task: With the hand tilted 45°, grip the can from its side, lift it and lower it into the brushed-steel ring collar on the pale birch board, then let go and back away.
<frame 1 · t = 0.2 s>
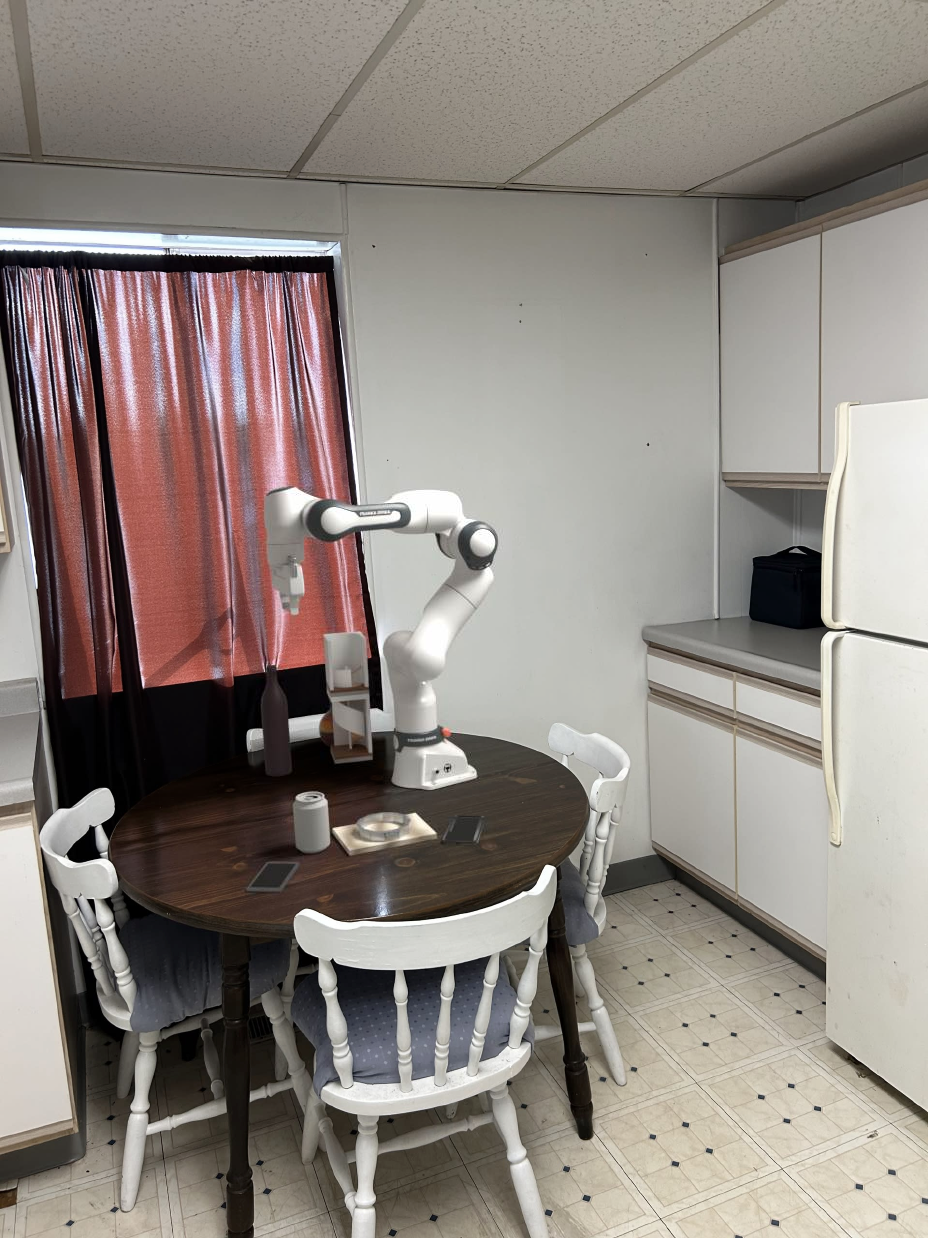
hand: (290, 611, 230), 48 cm above the table, tool pointing down, fingers open, 8 cm apart
cell phone: (273, 880, 194), on the table
phone: (464, 833, 214), on the table
vase: (338, 744, 285), on the table
seat board: (384, 835, 213), on the table
wine bottle: (279, 773, 260), on the table
display case: (351, 756, 272), on the table
can: (313, 848, 208), on the table
ring collar: (383, 826, 213), on the seat board, point 2 cm above the table
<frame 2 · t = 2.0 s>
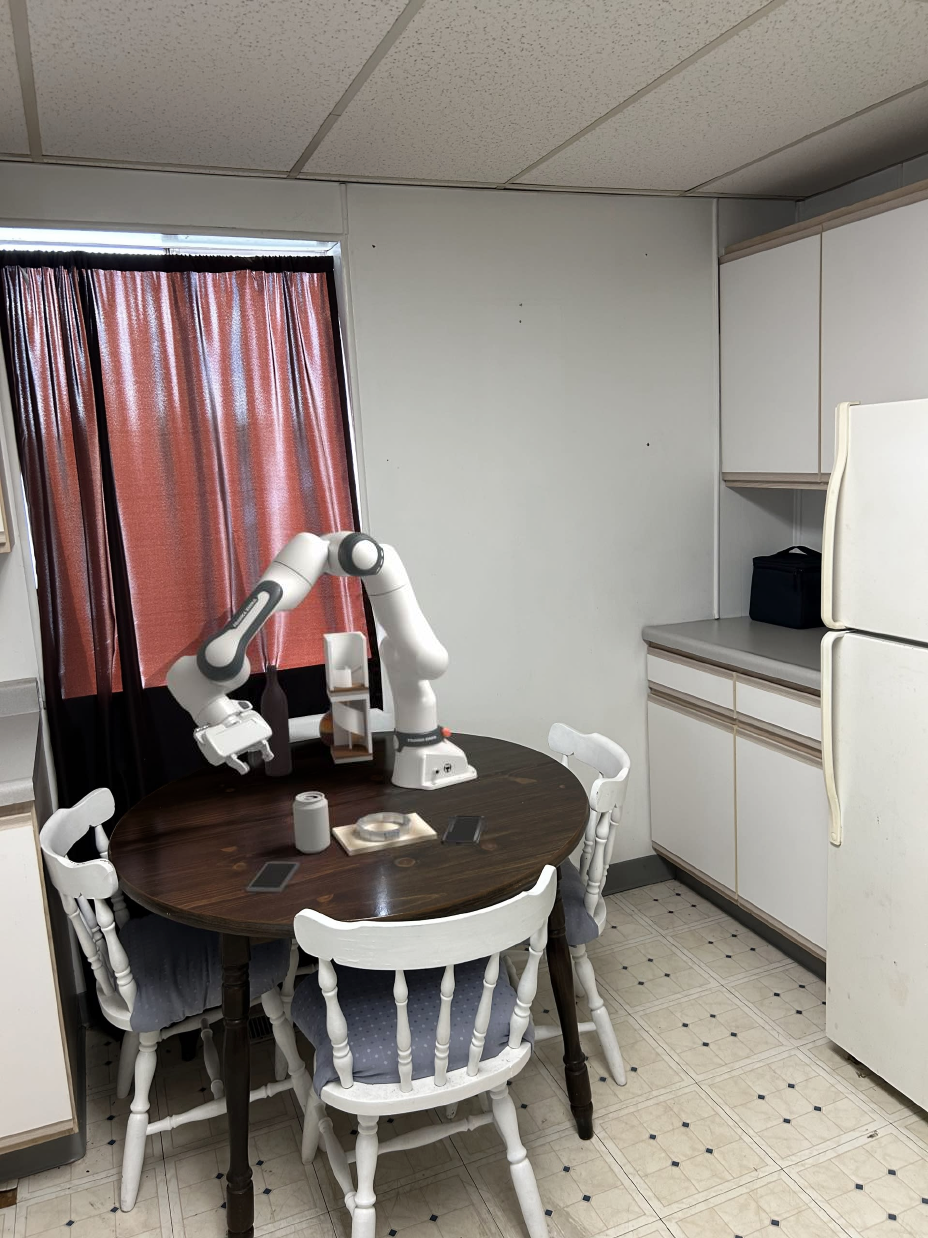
hand: (258, 765, 210), 18 cm above the table, tool tilted 45°, fingers open, 8 cm apart
nothing on the table moved.
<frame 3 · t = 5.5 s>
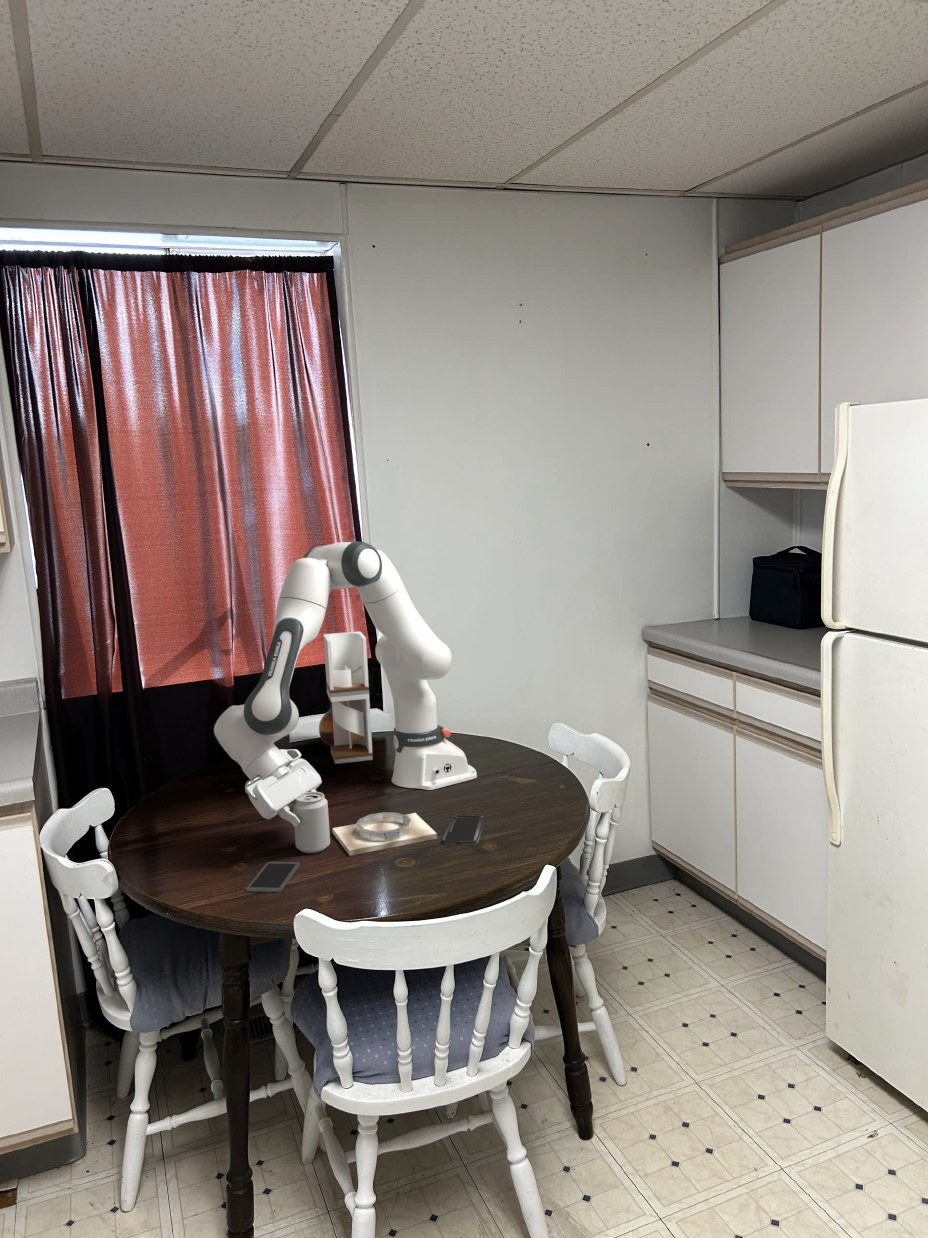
hand: (310, 816, 207), 7 cm above the table, tool tilted 45°, fingers closed on can, 7 cm apart
can: (313, 848, 208), on the table, touching gripper
everything else where it was.
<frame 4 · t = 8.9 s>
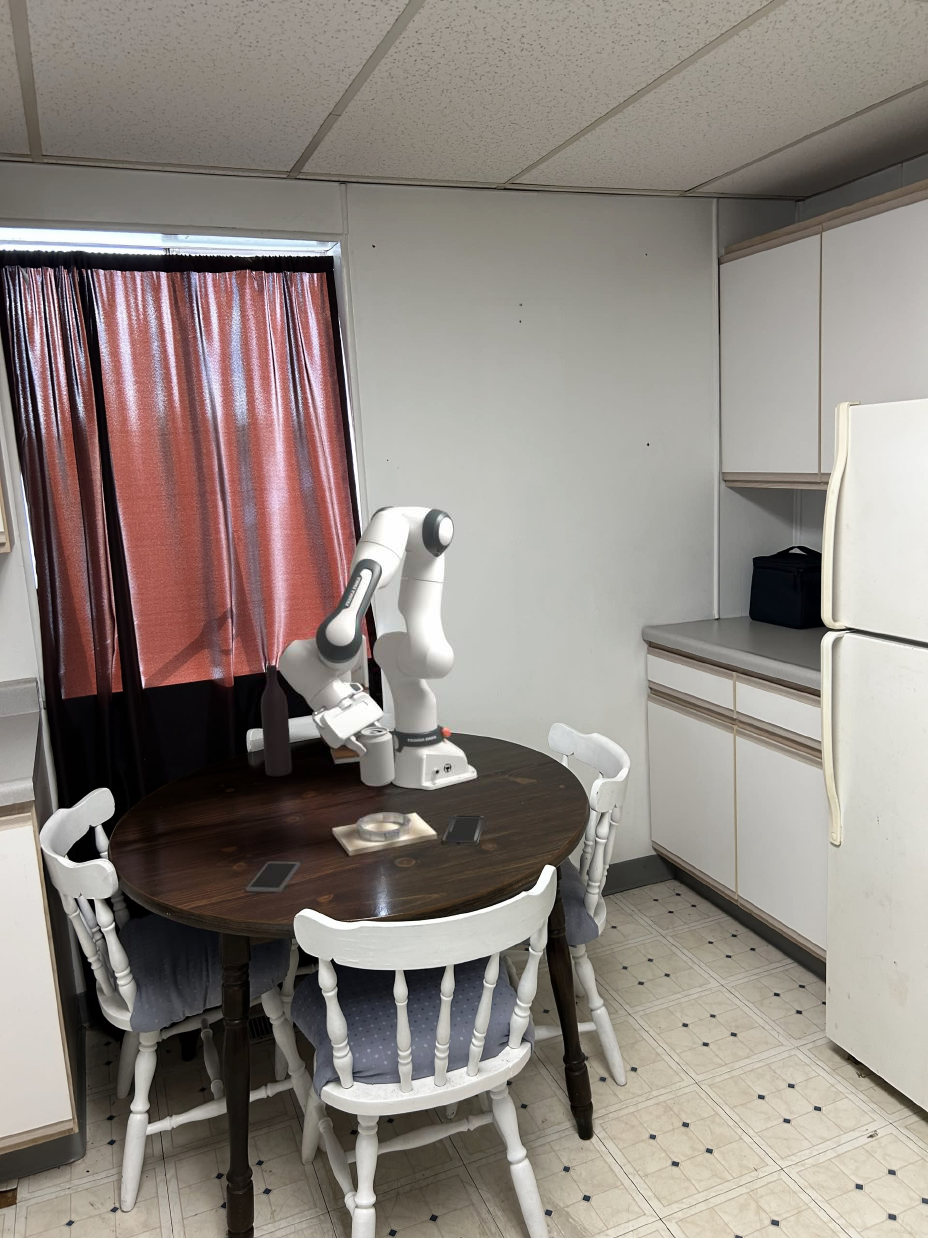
hand: (374, 747, 210), 21 cm above the table, tool tilted 45°, fingers closed on can, 7 cm apart
can: (378, 782, 211), point 13 cm above the table, touching gripper
everything else where it was.
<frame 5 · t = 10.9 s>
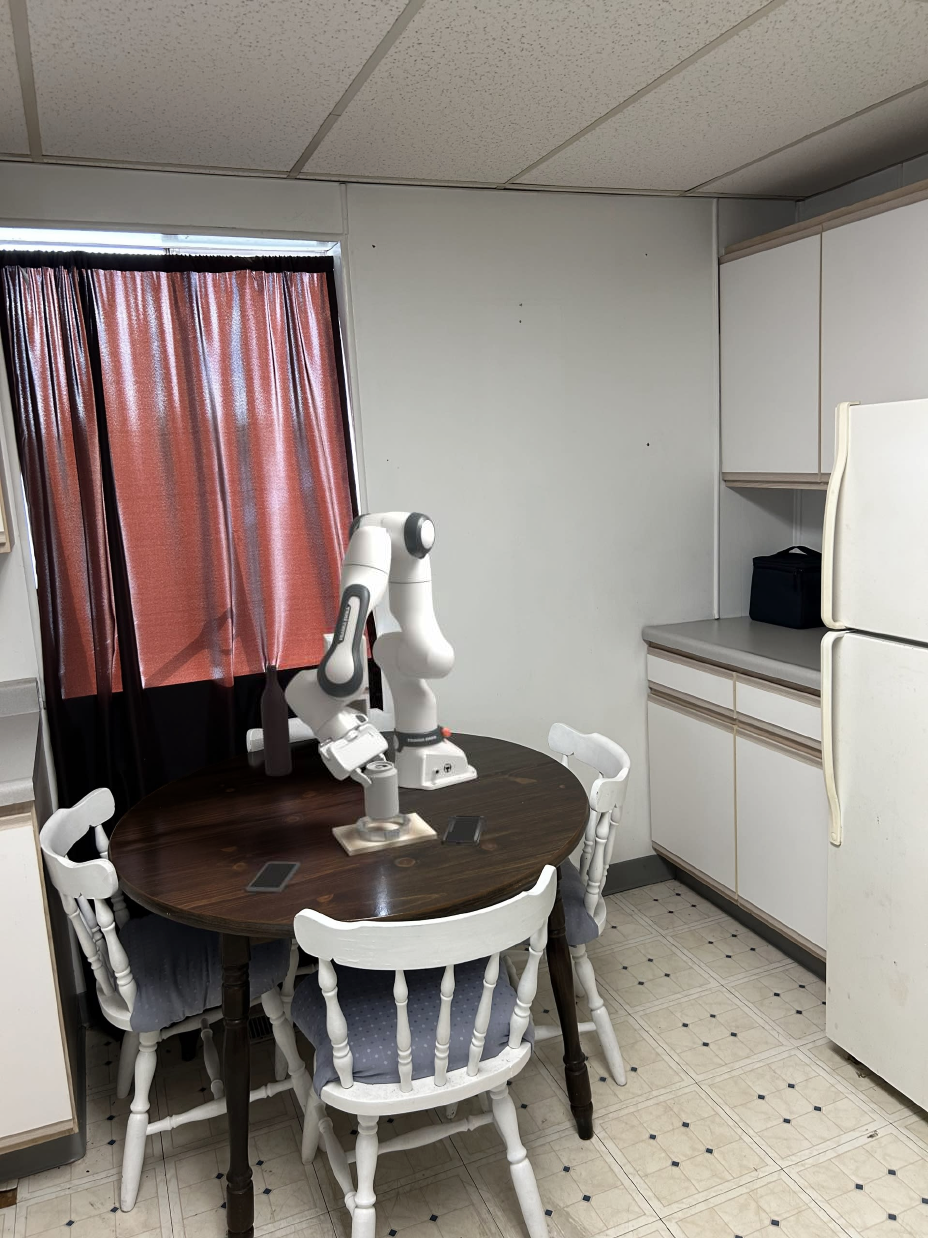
hand: (379, 779, 211), 13 cm above the table, tool tilted 45°, fingers closed on can, 7 cm apart
can: (382, 817, 212), point 5 cm above the table, touching gripper
everything else where it was.
when the fingers open (10 cm above the table, at t = 12.5 s): can stays where it is, resting on seat board.
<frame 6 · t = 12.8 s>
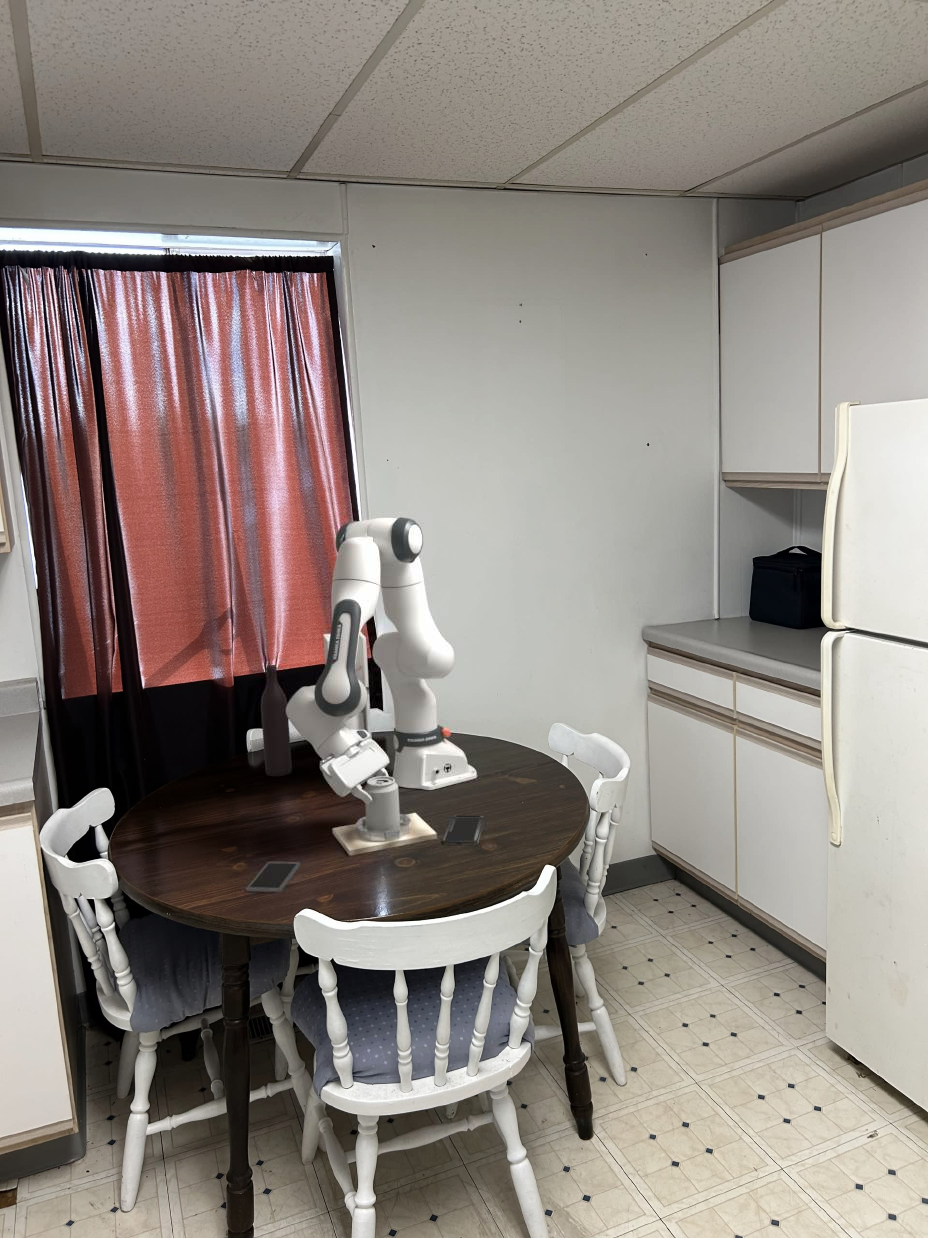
hand: (381, 794, 211), 10 cm above the table, tool tilted 45°, fingers open, 8 cm apart
can: (383, 831, 213), point 1 cm above the table, touching seat board
everything else where it was.
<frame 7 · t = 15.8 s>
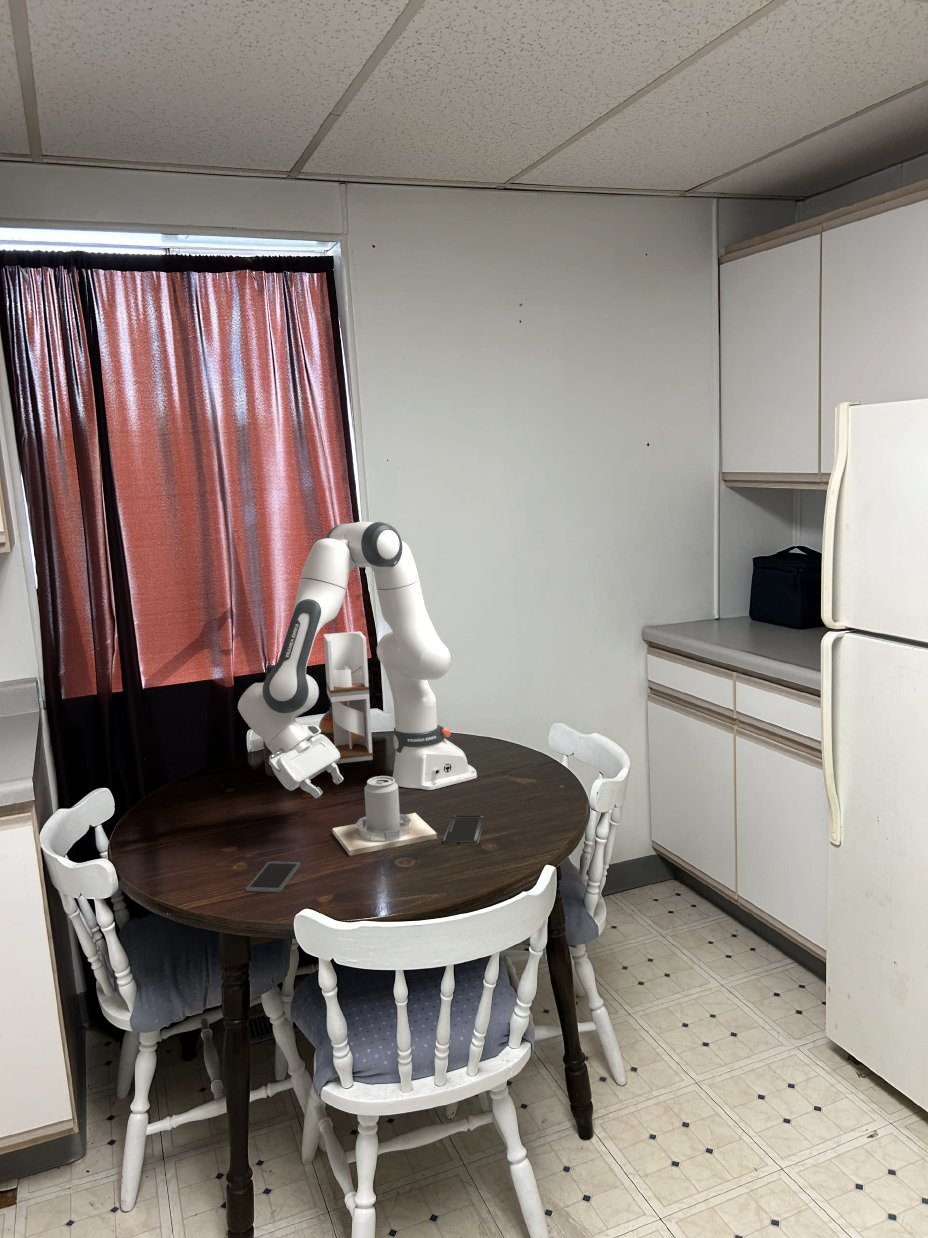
hand: (330, 788, 216), 10 cm above the table, tool tilted 45°, fingers open, 8 cm apart
nothing on the table moved.
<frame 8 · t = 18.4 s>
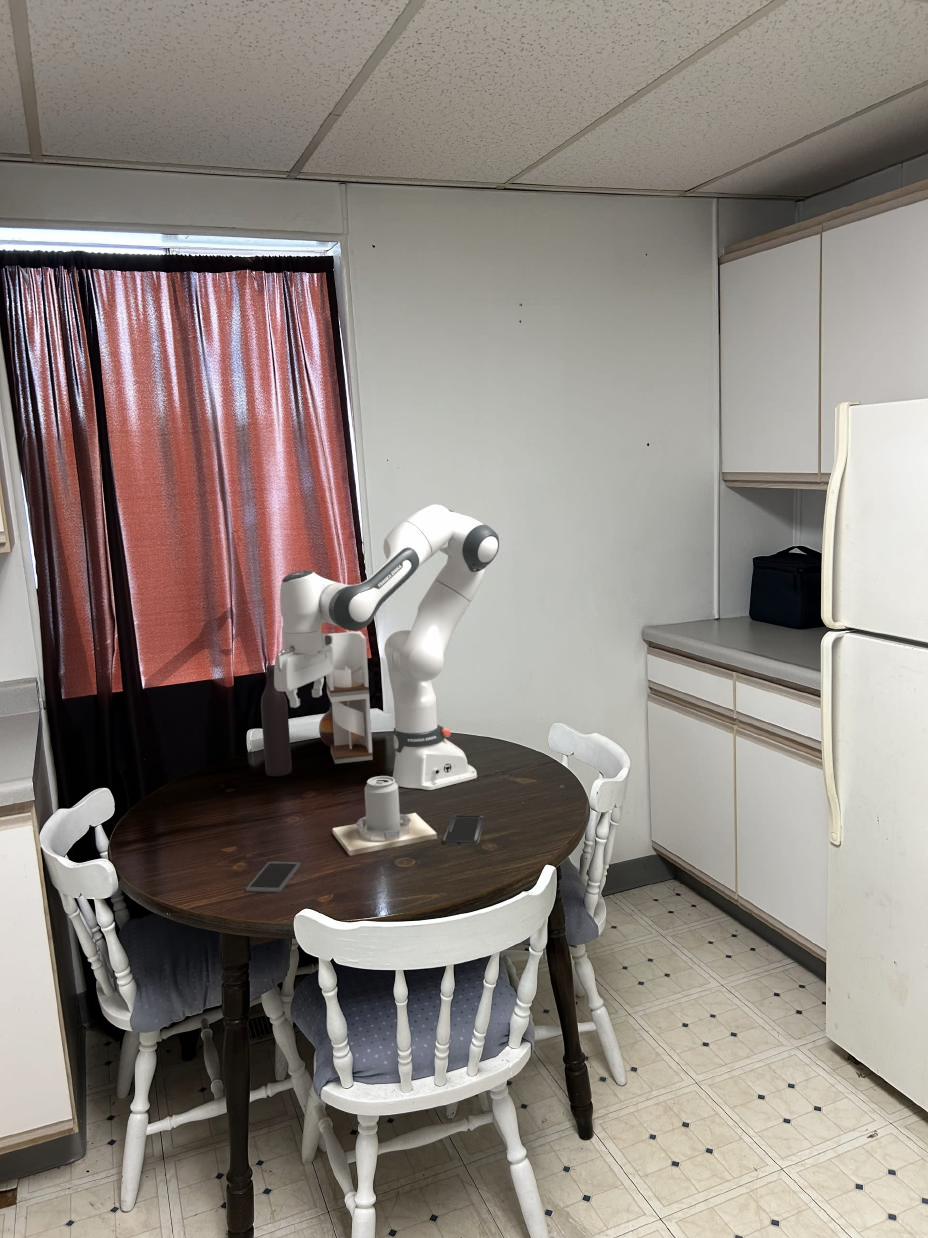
hand: (306, 701, 218), 29 cm above the table, tool pointing down, fingers open, 8 cm apart
nothing on the table moved.
at the end: can 0.1 cm off-centre on the seat board, point 1.0 cm above the seat board's base; can tilted 0°; the gripper is holding nothing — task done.
